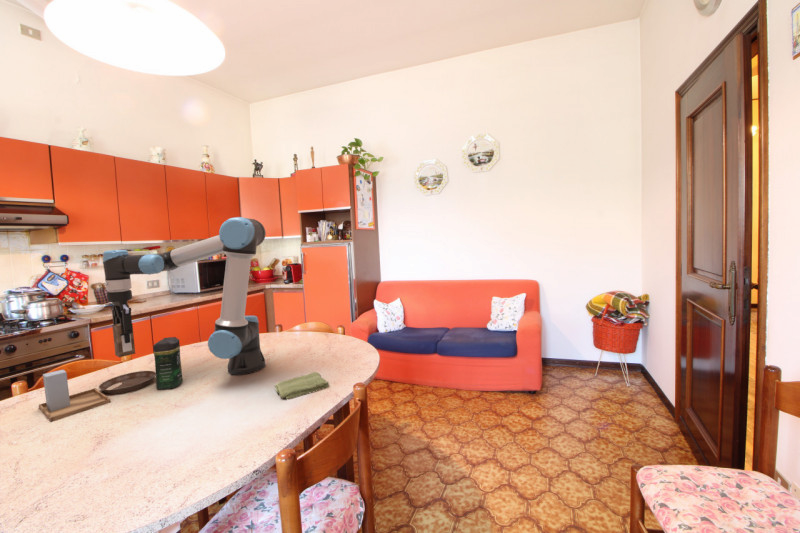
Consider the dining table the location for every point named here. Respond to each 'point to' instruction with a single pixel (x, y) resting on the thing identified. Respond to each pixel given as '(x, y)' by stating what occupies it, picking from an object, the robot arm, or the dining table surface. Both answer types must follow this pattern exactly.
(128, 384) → the plant saucer
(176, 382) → the coffee jar
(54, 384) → the plain carton
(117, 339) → the labelled carton
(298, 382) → the washcloth
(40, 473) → the dining table surface
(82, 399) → the parts tray
